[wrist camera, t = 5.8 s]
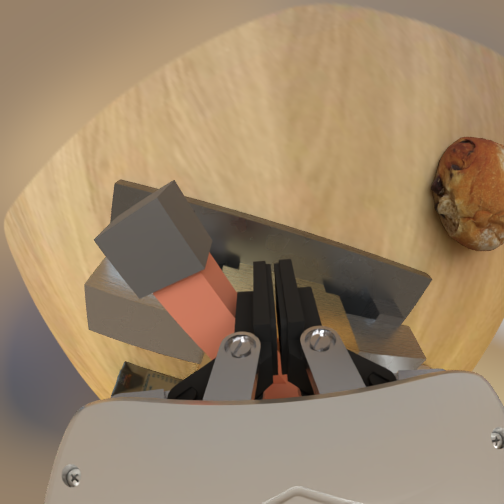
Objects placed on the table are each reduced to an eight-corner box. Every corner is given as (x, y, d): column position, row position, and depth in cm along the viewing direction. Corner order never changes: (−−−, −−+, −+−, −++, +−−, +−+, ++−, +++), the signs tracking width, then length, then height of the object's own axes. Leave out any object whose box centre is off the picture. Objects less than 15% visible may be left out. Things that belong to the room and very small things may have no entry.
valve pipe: (427, 273, 23) (472, 333, 16) (362, 362, 29) (381, 423, 22) (120, 179, 19) (55, 226, 11) (112, 306, 25) (77, 372, 17)
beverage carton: (123, 356, 29) (106, 400, 23) (272, 396, 33) (274, 440, 27) (121, 386, 33) (109, 425, 27) (249, 420, 36) (249, 458, 30)
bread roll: (450, 225, 25) (505, 265, 19) (407, 224, 20) (484, 279, 14) (478, 142, 20) (539, 174, 14) (442, 109, 15) (533, 146, 9)
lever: (315, 382, 17) (321, 418, 14) (261, 398, 18) (262, 432, 15) (182, 174, 10) (161, 197, 8) (110, 221, 11) (80, 252, 9)
